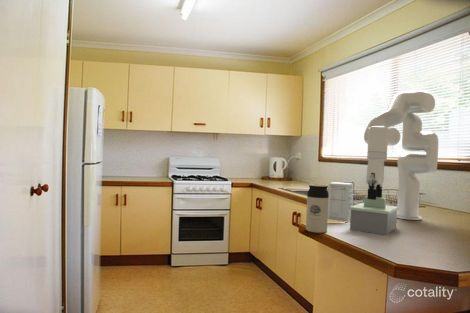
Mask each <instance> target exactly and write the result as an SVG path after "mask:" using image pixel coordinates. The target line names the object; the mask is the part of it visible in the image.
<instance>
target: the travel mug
mask: <svg viewBox="0 0 470 313" xmlns="http://www.w3.org/2000/svg"><path fill="white" fill-rule="evenodd" d="M308 188H309V189H308V191H307V194H306V195H307V198H306V219H305V231H308V232H310V233H316V234H322V233H323V234H324V233H326V232H328V220H329V219H328V198H329V193H328V188H329V184H326V183H314V182H313V183H308Z"/></svg>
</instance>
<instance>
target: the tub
mask: <svg viewBox="0 0 470 313" xmlns="http://www.w3.org/2000/svg"><path fill="white" fill-rule="evenodd" d="M349 221H350V222H349V223H350V224H349V230H350V231H351V230H352V231H357V230H360V231H359V232H364V231H365V233H370V232H371V233H372V234H377V233H378V234H379V235H385V236H388V235H389V234H391V233H392V232H393V231H395V230H396V229H397V222H398V218H397V210H396V211H394V212H392V213H390V214H383V213H374V212H366V211H358V210H351V217H350V220H349Z"/></svg>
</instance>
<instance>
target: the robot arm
mask: <svg viewBox="0 0 470 313" xmlns="http://www.w3.org/2000/svg"><path fill="white" fill-rule="evenodd" d="M435 107H436V100H435V98H434V96H433V95H432V94H431V93H429V92H427V91H424V90H409V91H399V92H397V93H396V94H394V96H393V97H392V100H391V102H390V103H389V105H388V107H387V109H386V111H384V112H382V113H380V114H378V115H377V116H375V117H373V119H371V120H370V121H369V122H368V125H367V127H366V128H365V131H364V134H363V139H364V140H363V141H364V142H365V143H366V144H367V153H366V154H367V156H366V160H367V168H366V177H365V184H367V185H368V187H367V196H368V199H372V200H376V197H382V198H383V183H384V179H385V178H384V177H385V176H384V175H385V161H386V162H387V159H388V147H389V146H395V145H397V144H399V142H400V140H401V139H402V140H401V146H402V149H403V150H404V151H407V152H423V153H426V154H419V153H404V154H401V155H400V156H399V157H398V159H397V172H398V187H397V188H398V189H397V190H398V191H397V207H399V209H398V210H397V219H400V220H408V221H410V220H411V221H421V220H422V219H423V217H422V216H421V215H419V210H420V209H419V207H420V191H421V190H420V188H421V184H420V179H419V178H418V177H417V176H416V175H419V174H420V175H434V174H436V172H437V170H438V161H439V160H438V158H439V157H438V156H439V138H438V135H437V134H436V133H435V132H433V131H423V130H422V129H423V122H422V119H421V118H420V117H419V115H418V114H421V113H422V114H424V113H425V114H427V113H431V112H432V111H434V109H435ZM401 123H402V137H401V133H400V131H399V130H398V129H397V128H394V127H395V126H397V125H400V124H401Z"/></svg>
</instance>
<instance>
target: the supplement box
mask: <svg viewBox="0 0 470 313" xmlns="http://www.w3.org/2000/svg"><path fill="white" fill-rule="evenodd" d="M327 191H328V193H329V198H328V220H331V221H338V222H339V221H341V222H349V221H350V217H351V210H349V207H351V206H354V205H353V202H354V201H353V200H354V182H353V183H352V182H338V181H337V182H336V181H334V182H333V181H332V182H329V183H328V189H327Z"/></svg>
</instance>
